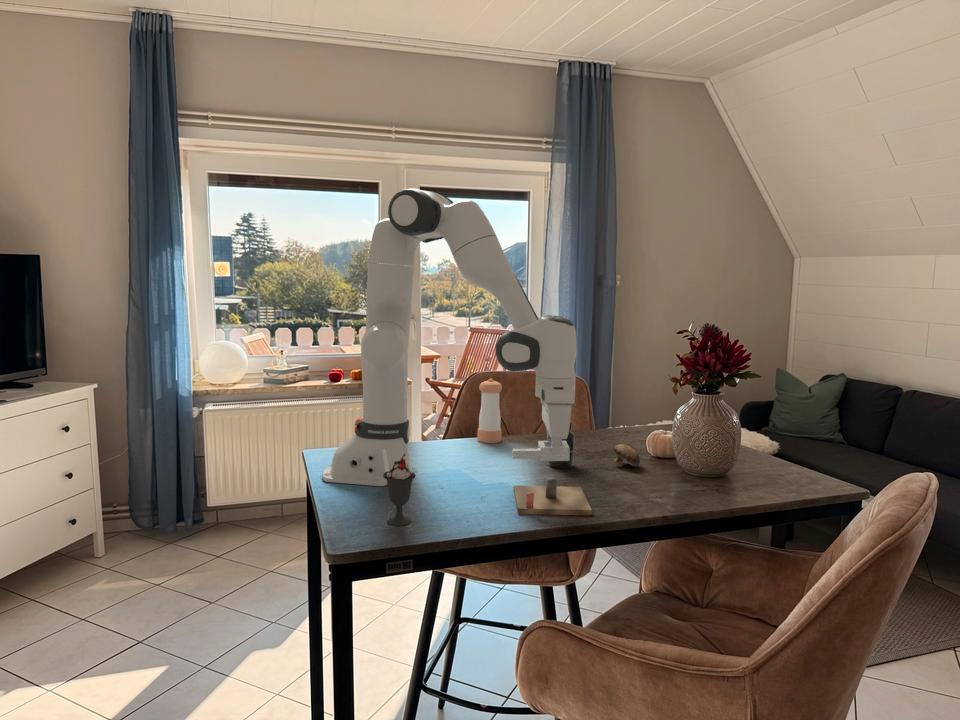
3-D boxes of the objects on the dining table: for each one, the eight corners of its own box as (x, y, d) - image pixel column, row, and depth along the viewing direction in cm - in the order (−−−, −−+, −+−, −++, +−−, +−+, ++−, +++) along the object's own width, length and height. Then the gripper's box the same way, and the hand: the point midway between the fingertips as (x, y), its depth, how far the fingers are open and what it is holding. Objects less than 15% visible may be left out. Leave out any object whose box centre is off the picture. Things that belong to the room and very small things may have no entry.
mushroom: (605, 456, 187) (619, 437, 188) (606, 460, 195) (619, 442, 195) (630, 474, 185) (644, 455, 185) (631, 477, 192) (644, 458, 193)
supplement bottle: (572, 470, 185) (574, 425, 183) (546, 468, 186) (548, 424, 185) (574, 463, 192) (576, 420, 190) (549, 461, 193) (550, 418, 191)
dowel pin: (526, 507, 152) (526, 494, 151) (525, 505, 153) (526, 492, 153) (533, 508, 152) (534, 494, 151) (532, 505, 153) (533, 492, 153)
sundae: (406, 529, 141) (407, 457, 139) (377, 524, 143) (377, 453, 141) (421, 519, 147) (421, 449, 145) (392, 514, 149) (393, 445, 147)
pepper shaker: (500, 437, 218) (501, 376, 216) (502, 443, 211) (503, 380, 209) (476, 437, 218) (478, 376, 215) (478, 443, 211) (479, 380, 208)
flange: (565, 453, 161) (565, 440, 161) (569, 460, 155) (569, 447, 154) (511, 453, 161) (511, 441, 160) (513, 461, 155) (513, 448, 154)
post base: (517, 513, 151) (518, 489, 150) (513, 490, 167) (514, 468, 166) (591, 515, 151) (592, 490, 151) (580, 491, 167) (581, 469, 166)
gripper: (536, 380, 166) (535, 437, 168) (545, 397, 146) (543, 461, 148) (563, 381, 166) (561, 438, 168) (576, 397, 146) (573, 461, 148)
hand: (553, 449), depth 158 cm, fingers closed on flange, 6 cm apart
